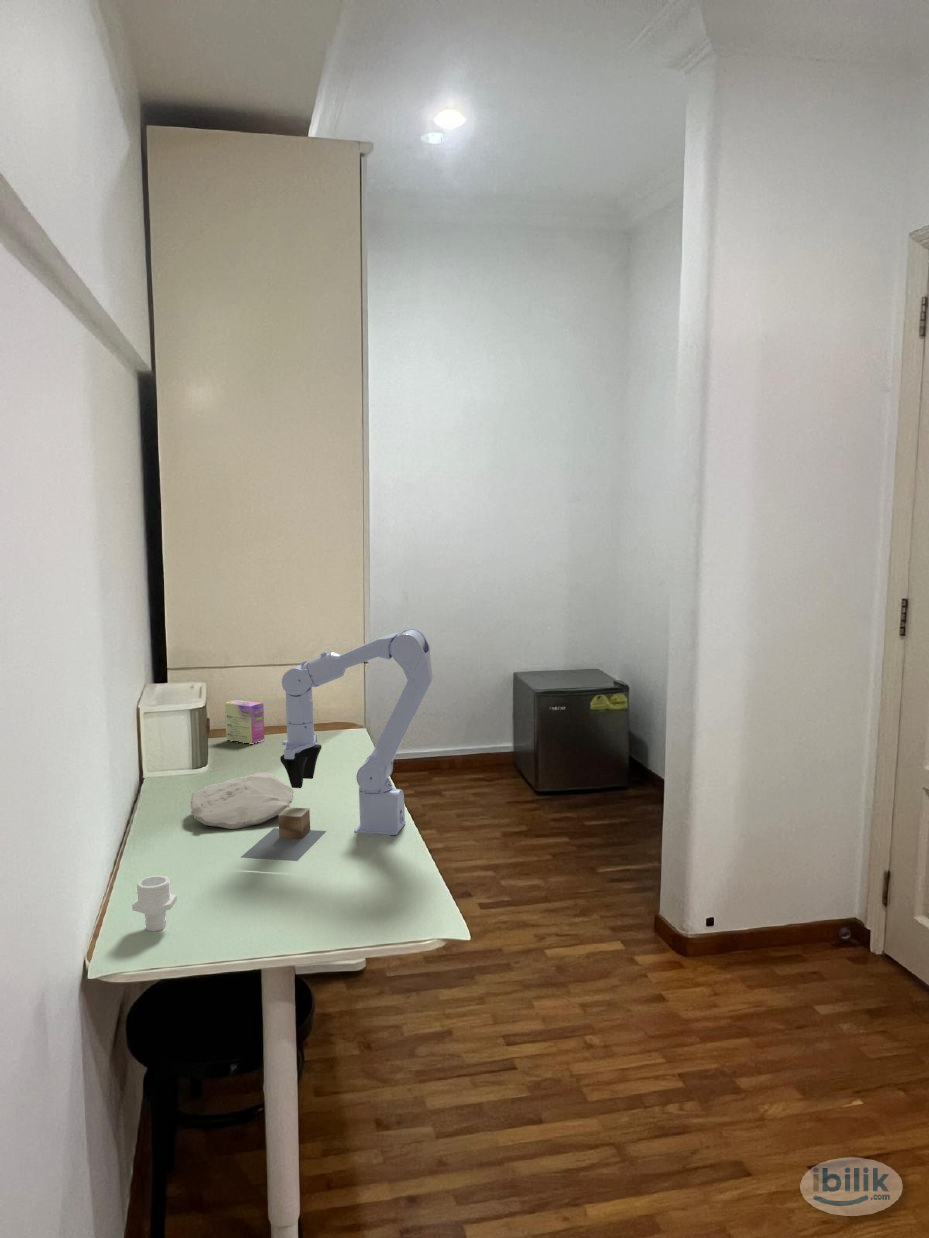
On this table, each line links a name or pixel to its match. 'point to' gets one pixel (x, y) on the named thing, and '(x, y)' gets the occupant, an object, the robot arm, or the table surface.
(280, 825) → the cube
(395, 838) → the table surface
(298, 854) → the mat
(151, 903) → the pipe fitting
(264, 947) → the table surface
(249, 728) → the box
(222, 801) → the rock
